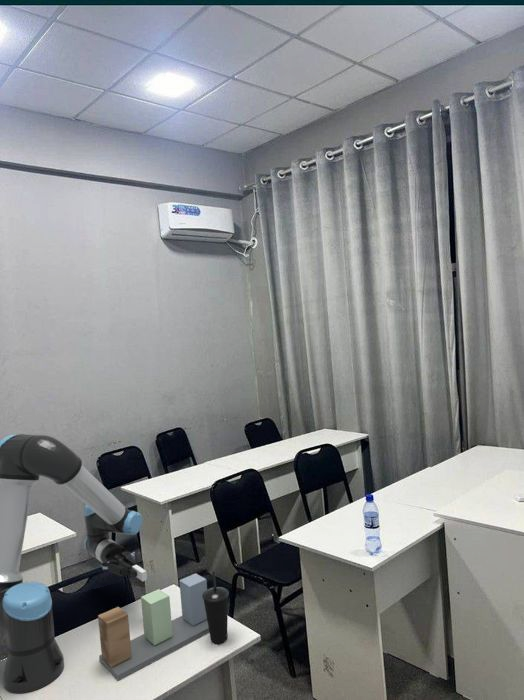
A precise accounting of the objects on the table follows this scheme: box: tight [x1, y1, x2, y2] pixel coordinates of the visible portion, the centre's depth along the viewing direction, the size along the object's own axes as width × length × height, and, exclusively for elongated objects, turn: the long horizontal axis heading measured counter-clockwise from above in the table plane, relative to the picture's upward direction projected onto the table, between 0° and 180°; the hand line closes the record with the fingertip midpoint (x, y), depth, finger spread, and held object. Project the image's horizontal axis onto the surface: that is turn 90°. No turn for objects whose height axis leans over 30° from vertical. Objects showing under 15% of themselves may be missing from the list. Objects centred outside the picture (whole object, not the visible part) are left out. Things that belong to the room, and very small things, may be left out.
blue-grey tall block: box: [178, 573, 208, 626], centre depth 159 cm, size 6×6×12 cm
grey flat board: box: [98, 615, 210, 681], centre depth 150 cm, size 12×32×2 cm, turn 130°
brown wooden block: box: [97, 606, 132, 667], centre depth 142 cm, size 6×6×12 cm
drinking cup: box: [202, 571, 230, 645], centre depth 150 cm, size 8×8×20 cm
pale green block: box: [140, 588, 173, 645], centre depth 151 cm, size 6×6×12 cm
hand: (144, 576), depth 156 cm, fingers closed
